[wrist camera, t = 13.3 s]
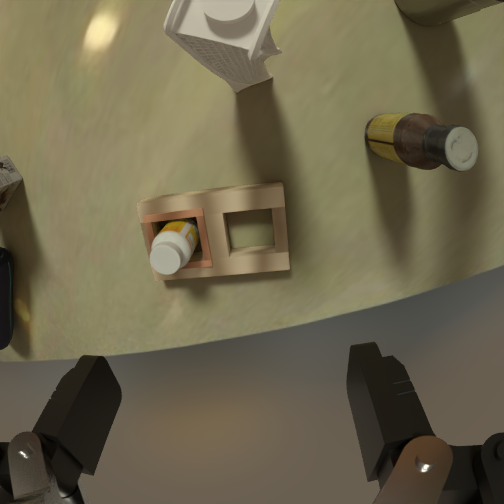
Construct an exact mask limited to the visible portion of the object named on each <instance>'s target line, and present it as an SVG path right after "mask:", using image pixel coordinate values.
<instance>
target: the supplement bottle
mask: <svg viewBox="0 0 504 504" xmlns="http://www.w3.org/2000/svg"><path fill="white" fill-rule="evenodd" d="M199 238H200V235H199V229H198V226H197V224H196V223H195V222H194V221H193V220H192V219H190V218H181V219H173V220H170V221H169V222H168V223H167V224H166V225H165V226H164V228H163V229H162V230H161V231H160V232H159V234H158V235H157V236H156V237H155V239H154V240H153V243H152V247H151V250H152V251H151V253H150V263H151V265H152V267H153V268H154V269H155V270H156V271H157V272H159V273H161V274H165V275H170V274H173V273H175V272H176V271H177V270H178V269H180V268H182V267H184V266H185V265H186V264H187V263H188V261H189V260H190V258H191V256H192V254H193V251H194V249H195V247H196V245H197V243H198V241H199Z"/></svg>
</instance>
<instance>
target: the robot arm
mask: <svg viewBox="0 0 504 504" xmlns="http://www.w3.org/2000/svg"><path fill="white" fill-rule="evenodd" d="M395 2H396V3H397V5H398V7H399V8H400V10H401V11H402V12H403V13H404V14H405V15H406V16H407V17H408V18H410V19H411V20H412V21H414V22H416V23H418V24H421V25H424V26H435V25H438V24H440V23H443V22H449V21H452V20H454V19H457V18H460V17H463V16H466V15H469V14H472V13H475V12H478V11H480V10H481V9H483V8H486V7H489V6H492V5H496V4H499V3H503V2H504V0H395ZM121 393H122V392H121V388H120V385H119V383H118V382H117V380H116V378H115V376H114V374H113V372H112V370H111V368H110V366H109V364H108V362H107V360H106V359H105V358H104V357H103V356H92V355H83V356H82V357H81V358H80V359H79V361H78V362H77V364H76V366H75V368H72V369H71V370H70V371H69V372H68V373H67V374H66V375H64V376H63V377H62V379H61V380H60V382H59V384H58V385H57V387H56V391H54V392H53V394H52V396H51V399H49V401H48V403H47V405H46V406H45V408H44V410H43V412H42V414H41V415H40V417H39V419H38V421H37V423H36V425H35V427H34V428H33V430H32V432H28V431H26V432H22V433H19V434H17V435H16V436H15V437H14V438H13V439H12V440H11V442H0V486H1V487H0V504H90V502H89V499H88V497H87V494H86V491H85V489H84V486H83V483H82V481H81V480H80V479H79V477H80V474H81V473H85V474H89V475H94V473H95V470H96V467H97V464H98V461H99V458H100V456H101V453H102V450H103V447H104V445H105V442H106V439H107V436H108V434H109V431H110V429H111V426H112V424H113V421H114V418H115V416H116V413H117V411H118V408H119V406H120V403H121V398H122V394H121ZM347 394H348V399H349V402H350V407H351V411H352V415H353V419H354V423H355V427H356V431H357V436H358V440H359V444H360V449H361V453H362V457H363V462H364V467H365V471H366V476H367V480H368V482H369V481H374V480H378V481H379V486H380V491H379V493H378V495H377V497H376V498H375V500H374V502H373V503H372V504H504V433H497V434H494V435H492V436H491V437H489V438H488V439H487V440H486V442H485V443H484V444H483V445H473V446H452V445H448V444H447V443H446V442H445V441H444V440H442V439H440V438H438V437H436V435H435V434H434V433H433V431H432V429H431V427H430V424H429V422H428V419H427V417H426V414H425V412H424V410H423V407H422V405H421V402H420V400H419V398H418V396H417V393H416V392H415V389H414V387H413V384H412V382H411V381H410V378H409V376H408V374H407V371H406V369H405V367H404V365H403V364H401V363H400V362H399V361H398V360H397V359H396V358H395V357H393V356H387V357H382V355H381V353H380V350H379V348H378V346H377V344H376V343H375V342H370V343H363V344H356V345H351V347H350V353H349V363H348V372H347Z"/></svg>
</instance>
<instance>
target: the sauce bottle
mask: <svg viewBox="0 0 504 504" xmlns="http://www.w3.org/2000/svg"><path fill="white" fill-rule="evenodd" d="M365 140H366V143H367V145H368V146H369V148H370V149H371V150H372V151H373V152H374V153H375V154H377V155H379V156H381V157H384V158H387V159H390V160H393V161H396V162H399V163H402V164H405V165H408V166H411V167H415V168H419V169H423V170H431V169H435V168H437V167H439V166H440V165H441V164H443V165H445V166H447V167H448V168H449V169H452V170H456V171H461V172H462V171H467V170H469V169H470V168H472V167H473V165H474V164H475V163H476V159H477V156H478V143H477V140H476V137H475V136H474V135H473V133H472V132H471V130H469V129H468V128H466V127H463V126H458V125H451V126H448V127H447V126H444V124H443V123H442V122H441V121H440V120H438V119H437V118H435V117H433V116H431V115H428V114H420V113H389V114H380V115H378V116H375V117H374V118H372V119H371V120H370V121H369V122H368V123H367V125H366V129H365Z"/></svg>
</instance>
